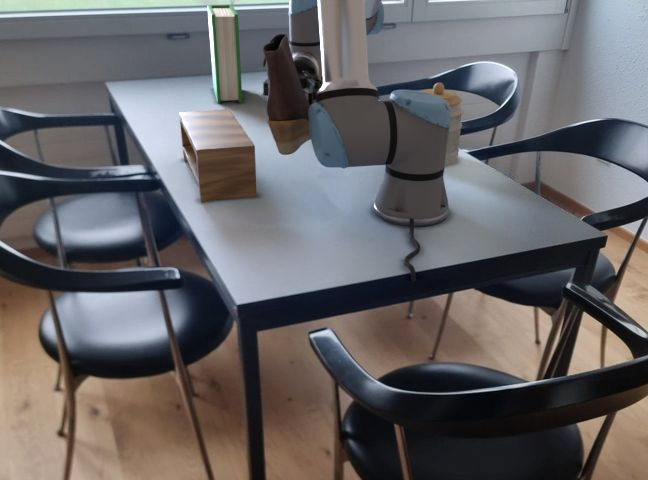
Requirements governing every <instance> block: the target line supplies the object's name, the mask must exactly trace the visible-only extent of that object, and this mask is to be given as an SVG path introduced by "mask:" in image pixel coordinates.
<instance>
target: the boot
mask: <svg viewBox="0 0 648 480" xmlns="http://www.w3.org/2000/svg"><path fill="white" fill-rule="evenodd" d="M262 52H263V55H264V56H263V57H264V58H263V60H262V67H263V68H265V67H266V68H265V69H266V77H267V78H268V87H269V92H268V96H267V98H266V101H265V110H266V115H267V124H268V127H269V130H270V132H271V135H272V137H273V140H274V142H275V146H276V149H277V150H278V153H279V154H281V155H283V156H287V155H288V156H289V155H293V154H294V153H295V152H297V151H298V150H299V149H300V147H302V146H303V145H304V144H306V143H307V142H308V141H310V140H311V137H310V131H309V117H308V111H309V107H310V104H309V102H308V101H307V98H306V96H305V94H304V91H303V89H302V86H301V83H300V79H299V76H298V73H297V70H296V67H295V64H294V60H293V56H292V53H291V50H290V46H289V37H288V34H287V33H278V34H276V35H274V36H273V37H272V38H271V39H270V40H269V42H267V43H265V44H264V45H263V46H262Z"/></svg>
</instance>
